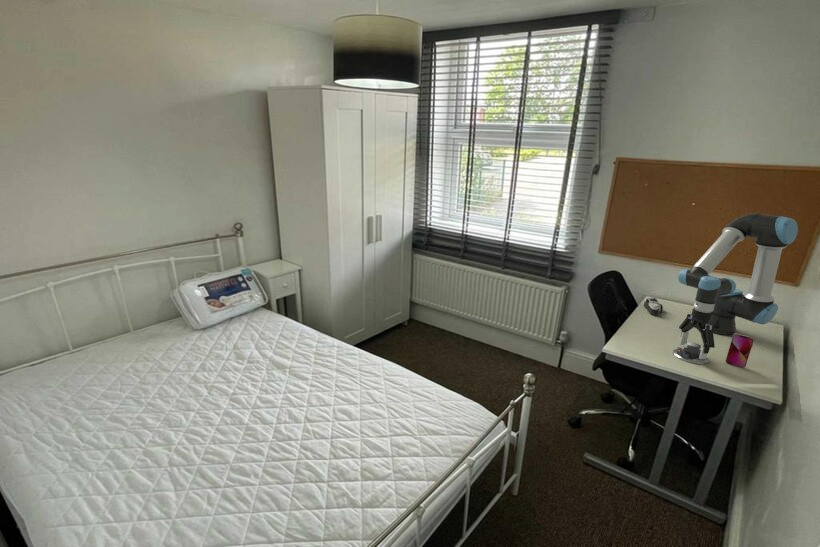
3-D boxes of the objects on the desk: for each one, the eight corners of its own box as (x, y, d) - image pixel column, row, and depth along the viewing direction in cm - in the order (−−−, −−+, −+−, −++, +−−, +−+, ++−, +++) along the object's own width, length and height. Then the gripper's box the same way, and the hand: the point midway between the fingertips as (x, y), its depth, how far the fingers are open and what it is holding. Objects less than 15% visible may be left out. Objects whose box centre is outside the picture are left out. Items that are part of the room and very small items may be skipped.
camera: (666, 320, 230) (669, 304, 227) (649, 318, 232) (653, 302, 229) (656, 310, 245) (659, 295, 242) (640, 308, 247) (644, 293, 244)
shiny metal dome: (694, 350, 196) (695, 344, 195) (715, 364, 182) (717, 358, 181) (666, 349, 195) (667, 343, 194) (685, 364, 182) (687, 358, 181)
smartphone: (724, 362, 184) (733, 333, 180) (724, 361, 185) (733, 332, 181) (745, 368, 180) (754, 338, 175) (745, 367, 180) (754, 337, 176)
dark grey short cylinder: (692, 353, 191) (695, 341, 189) (701, 359, 186) (704, 347, 184) (678, 352, 191) (681, 341, 189) (686, 359, 185) (689, 347, 184)
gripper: (676, 299, 193) (667, 339, 200) (715, 321, 170) (703, 365, 176) (692, 300, 194) (682, 339, 200) (732, 321, 170) (719, 365, 176)
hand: (692, 351), depth 188 cm, fingers open, 13 cm apart
